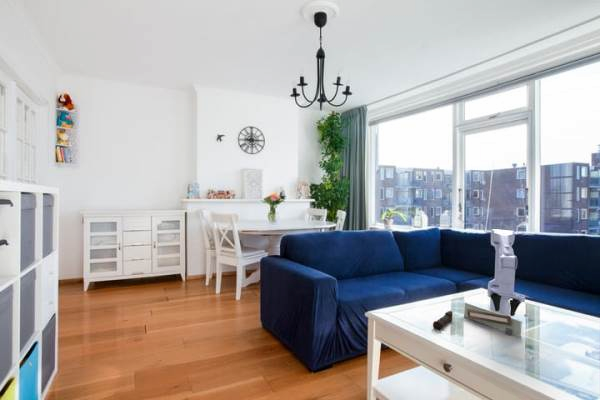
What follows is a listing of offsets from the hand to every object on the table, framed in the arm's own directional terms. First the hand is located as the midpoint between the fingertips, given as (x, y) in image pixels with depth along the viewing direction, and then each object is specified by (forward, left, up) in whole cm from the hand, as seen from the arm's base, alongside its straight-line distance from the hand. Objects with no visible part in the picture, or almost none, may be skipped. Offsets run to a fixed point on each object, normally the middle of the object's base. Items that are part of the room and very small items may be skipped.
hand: (504, 313), depth 147 cm
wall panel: (-3, -8, -9) cm, 13 cm away
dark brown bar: (+15, -19, -10) cm, 26 cm away
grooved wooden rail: (-2, -8, -7) cm, 10 cm away
